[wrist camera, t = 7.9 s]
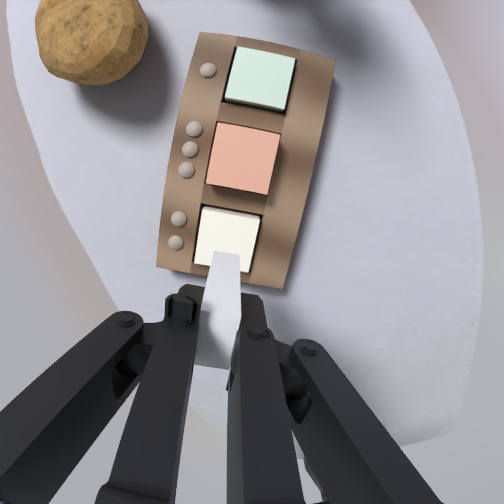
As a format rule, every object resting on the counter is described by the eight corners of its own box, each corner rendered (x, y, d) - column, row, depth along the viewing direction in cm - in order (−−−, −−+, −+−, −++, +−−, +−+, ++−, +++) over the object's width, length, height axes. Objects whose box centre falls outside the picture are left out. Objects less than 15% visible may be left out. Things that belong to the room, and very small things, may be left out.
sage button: (278, 114, 21) (284, 109, 18) (226, 104, 21) (224, 97, 18) (288, 69, 20) (295, 58, 17) (237, 58, 19) (237, 46, 16)
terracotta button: (263, 189, 22) (267, 194, 19) (209, 179, 22) (205, 183, 19) (274, 137, 21) (280, 134, 18) (220, 126, 20) (217, 122, 17)
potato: (102, 122, 20) (53, 115, 13) (50, 41, 16) (7, 23, 9) (188, 54, 19) (168, 15, 11) (120, -19, 15) (92, -54, 7)
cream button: (247, 258, 25) (248, 272, 22) (199, 250, 25) (194, 263, 22) (257, 211, 24) (259, 219, 21) (206, 202, 23) (202, 209, 20)
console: (278, 276, 26) (282, 289, 24) (163, 256, 25) (155, 267, 22) (326, 68, 20) (336, 59, 17) (203, 42, 19) (199, 30, 16)
